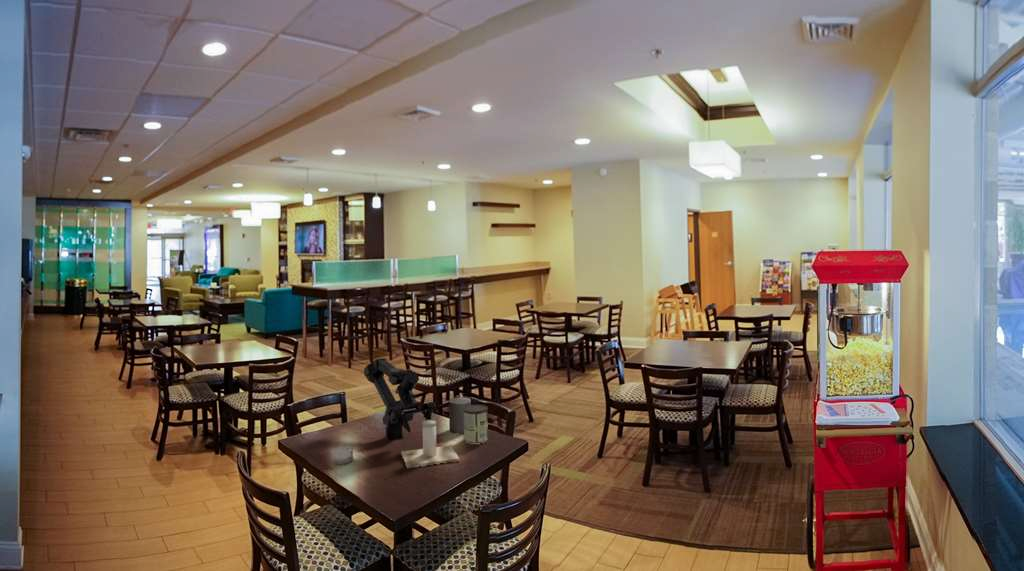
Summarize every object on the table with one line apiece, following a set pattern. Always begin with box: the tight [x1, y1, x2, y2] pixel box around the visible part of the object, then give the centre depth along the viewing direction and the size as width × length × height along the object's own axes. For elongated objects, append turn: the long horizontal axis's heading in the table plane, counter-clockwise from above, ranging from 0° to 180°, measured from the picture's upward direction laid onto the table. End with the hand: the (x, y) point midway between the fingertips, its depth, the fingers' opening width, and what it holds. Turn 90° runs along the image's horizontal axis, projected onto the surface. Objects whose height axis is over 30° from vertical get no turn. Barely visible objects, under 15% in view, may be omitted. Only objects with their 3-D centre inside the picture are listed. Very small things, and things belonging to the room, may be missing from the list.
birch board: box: [401, 445, 460, 469], centre depth 223 cm, size 20×15×1 cm
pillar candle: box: [448, 396, 472, 434], centre depth 255 cm, size 10×10×15 cm
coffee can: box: [463, 404, 489, 445], centre depth 242 cm, size 10×10×14 cm
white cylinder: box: [421, 419, 437, 457], centre depth 223 cm, size 5×5×13 cm
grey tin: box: [333, 446, 354, 467], centre depth 220 cm, size 7×7×5 cm
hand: (420, 429), depth 229 cm, fingers open, 9 cm apart
